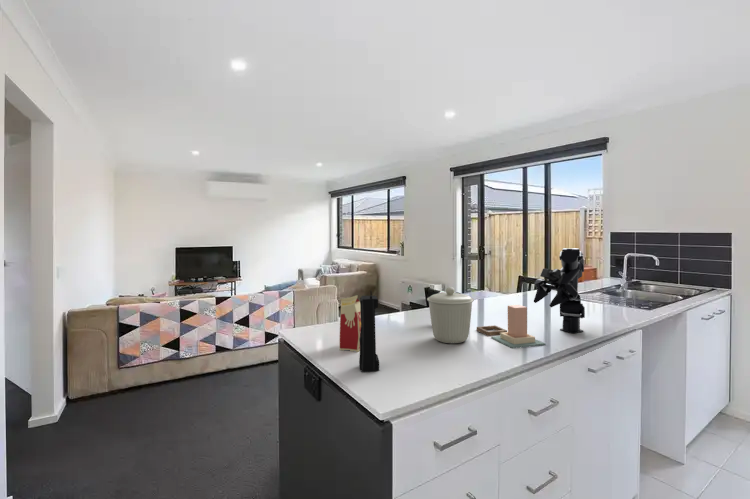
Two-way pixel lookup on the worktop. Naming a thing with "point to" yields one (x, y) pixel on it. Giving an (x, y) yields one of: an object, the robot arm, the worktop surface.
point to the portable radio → (368, 334)
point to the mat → (517, 340)
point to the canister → (450, 316)
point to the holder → (489, 333)
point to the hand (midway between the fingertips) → (542, 304)
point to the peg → (517, 321)
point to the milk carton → (350, 324)
